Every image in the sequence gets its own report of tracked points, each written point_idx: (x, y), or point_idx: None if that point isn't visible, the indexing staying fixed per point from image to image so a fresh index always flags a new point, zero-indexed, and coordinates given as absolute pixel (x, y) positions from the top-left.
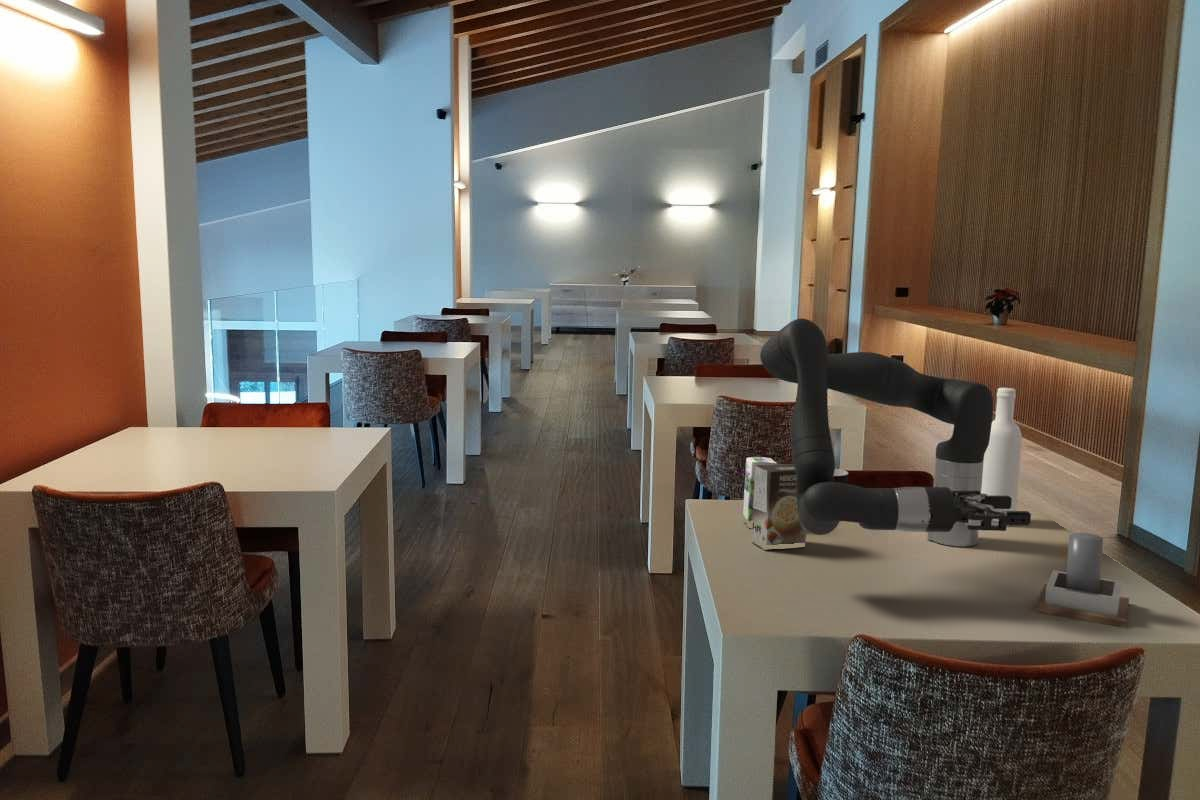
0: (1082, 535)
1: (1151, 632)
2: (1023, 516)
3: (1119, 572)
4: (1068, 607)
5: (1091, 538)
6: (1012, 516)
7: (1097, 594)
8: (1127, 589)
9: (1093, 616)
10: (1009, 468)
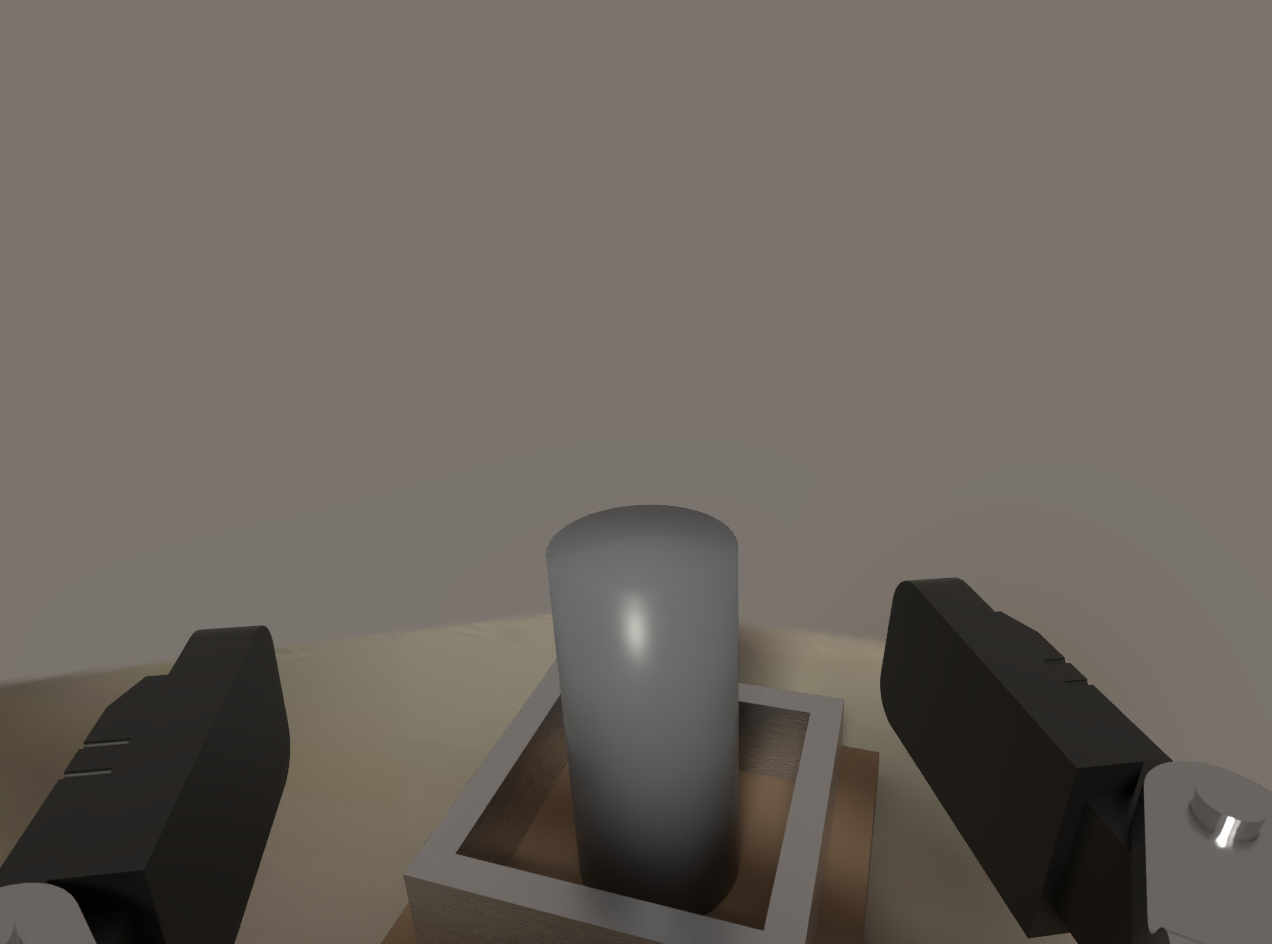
0: (606, 553)
1: (879, 713)
2: (1047, 652)
3: None
4: (814, 935)
5: (669, 534)
6: (1151, 753)
7: (815, 756)
8: (372, 690)
9: (869, 851)
10: None
